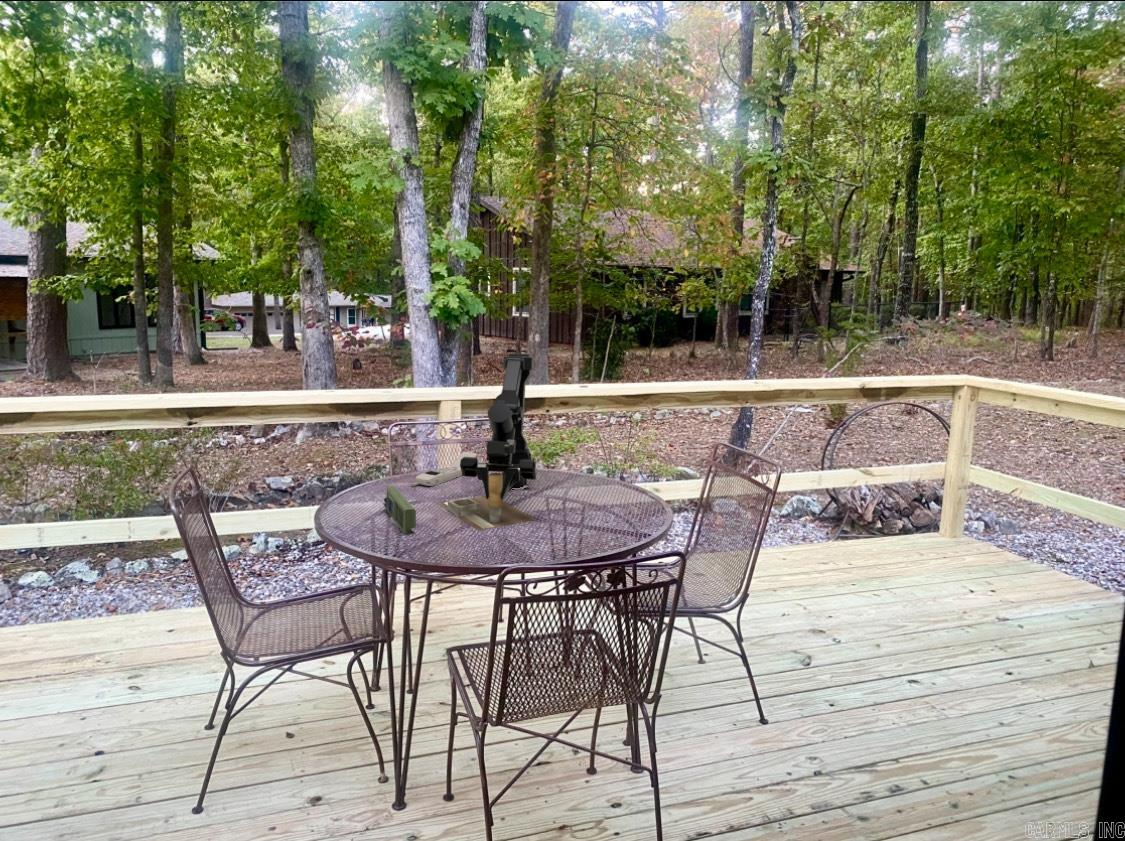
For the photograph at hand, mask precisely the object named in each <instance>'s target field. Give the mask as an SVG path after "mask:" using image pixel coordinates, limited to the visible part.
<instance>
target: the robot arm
mask: <svg viewBox="0 0 1125 841" xmlns="http://www.w3.org/2000/svg"><path fill="white" fill-rule="evenodd" d="M502 360H503V361H502V364H503V365H502V369H503V370H505V371H504V372H505V373H504V378H503V383H502V390H501V392H500V394H498V395H497V396H496V397H495V400H494V403H493V405H491V406H490V408H489V409H487V417H488V422H489V426H490V430H491V432H492V433H491V434H492V435H491V440H487V441H486V451H485V455H486V461H479V460H478V457H463V458H462V459H461V461H460V468H461V471H462V476H463V477H466V478H476V477H477V479H478V480H479V481H482V484H483V489H484V494H485V495H484V496H486V499H488V497H489V474H490V472H494V473H501V474H503V489H502V495H501V499H502V501H504V499H505V498H506V497H507V494H508V493H509V492H510V491H509V490H511V489H512V488H520V487H523V486H524V485H526V484H527V482H528V480H529V481H534V480H537V474H538V473H537V472H538V471H537V469H538V468H537V462H536V461H535V460H534V459H532V458H533V457H532V453H531V451H530V449H529V447H528V446H529V445H528V441H527V440H526V438H525V435H524V416H525V403H526V402H525V399H526V398H525V397H526V385H527V383H528V382H529V380H530V379H531V377H532V372H533V371H534V368H535V357H531V354H530V353H508V355H507V356H503V358H502ZM512 490H514V489H512ZM514 491H515V490H514Z"/></svg>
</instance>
